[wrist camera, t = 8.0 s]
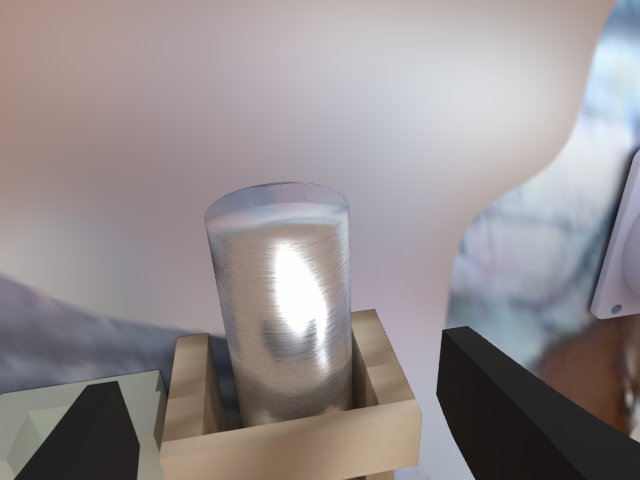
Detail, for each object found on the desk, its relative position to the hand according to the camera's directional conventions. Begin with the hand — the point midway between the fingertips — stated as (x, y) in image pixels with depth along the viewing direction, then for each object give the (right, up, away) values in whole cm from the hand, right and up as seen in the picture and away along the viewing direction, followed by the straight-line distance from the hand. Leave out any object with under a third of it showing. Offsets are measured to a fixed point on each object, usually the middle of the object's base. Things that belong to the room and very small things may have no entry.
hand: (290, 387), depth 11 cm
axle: (-1, -1, +9) cm, 9 cm away
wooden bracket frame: (-1, -5, +11) cm, 12 cm away
